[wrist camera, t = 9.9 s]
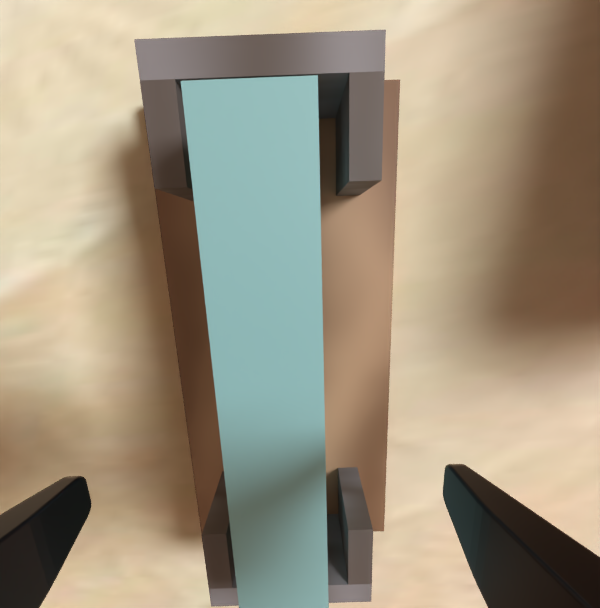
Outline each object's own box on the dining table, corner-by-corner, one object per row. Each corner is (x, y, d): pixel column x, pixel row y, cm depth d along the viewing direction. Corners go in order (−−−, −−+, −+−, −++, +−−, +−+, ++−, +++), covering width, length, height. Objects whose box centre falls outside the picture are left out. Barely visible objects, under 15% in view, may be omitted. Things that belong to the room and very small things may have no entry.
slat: (263, 496, 19) (243, 644, 12) (236, 154, 14) (180, 80, 8) (318, 494, 19) (329, 641, 12) (308, 151, 14) (317, 74, 8)
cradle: (207, 519, 21) (177, 611, 16) (153, 101, 15) (79, 30, 10) (379, 514, 21) (405, 604, 16) (391, 92, 15) (440, 16, 10)
